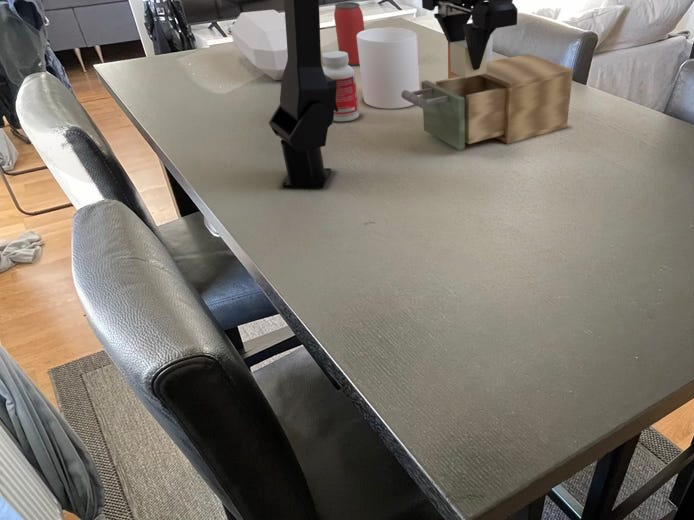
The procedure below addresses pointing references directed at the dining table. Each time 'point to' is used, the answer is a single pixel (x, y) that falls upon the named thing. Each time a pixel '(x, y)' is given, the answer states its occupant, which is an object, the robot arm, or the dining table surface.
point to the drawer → (461, 109)
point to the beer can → (348, 29)
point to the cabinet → (532, 95)
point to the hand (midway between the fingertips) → (468, 66)
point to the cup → (388, 66)
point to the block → (464, 60)
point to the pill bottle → (342, 84)
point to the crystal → (262, 40)
